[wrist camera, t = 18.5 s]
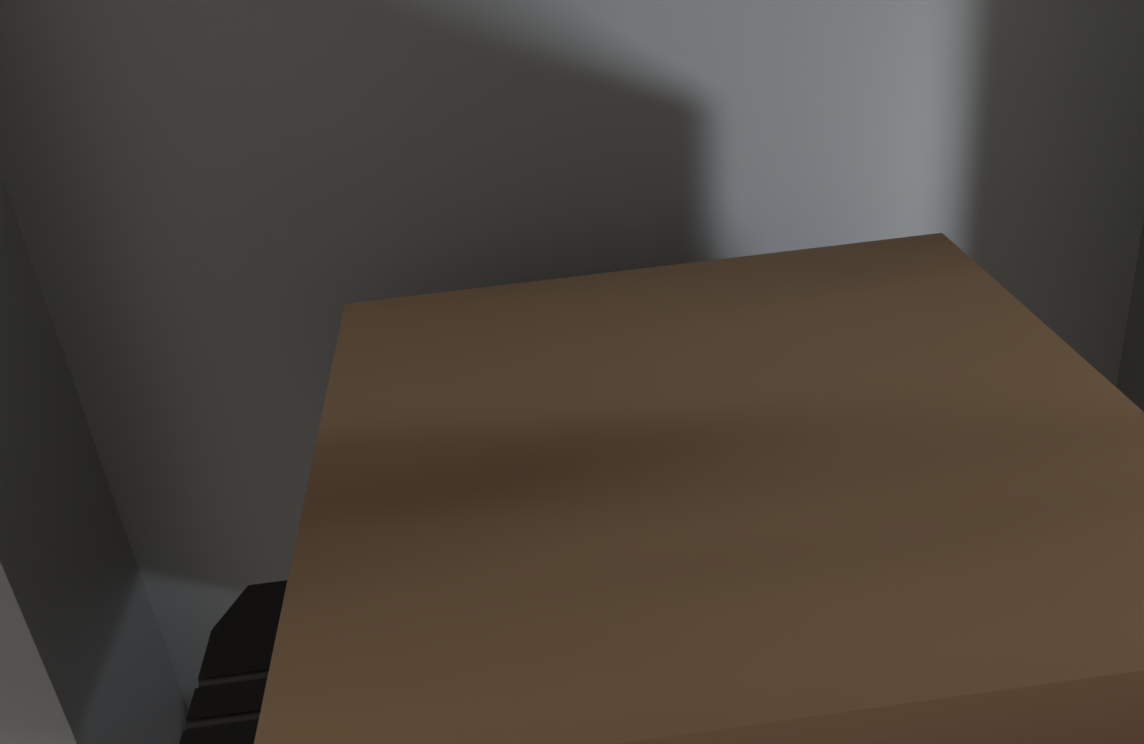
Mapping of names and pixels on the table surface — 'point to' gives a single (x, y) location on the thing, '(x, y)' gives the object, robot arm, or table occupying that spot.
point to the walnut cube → (717, 515)
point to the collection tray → (454, 241)
